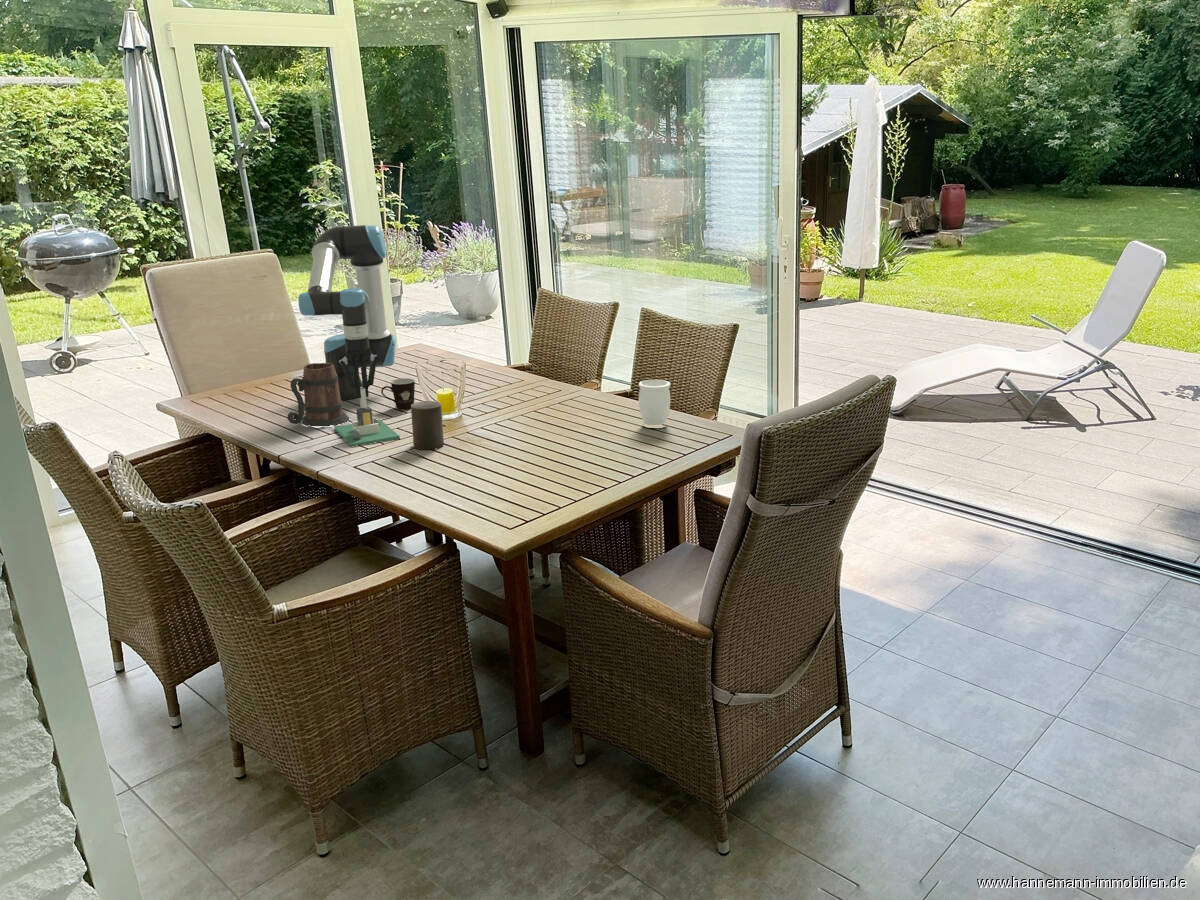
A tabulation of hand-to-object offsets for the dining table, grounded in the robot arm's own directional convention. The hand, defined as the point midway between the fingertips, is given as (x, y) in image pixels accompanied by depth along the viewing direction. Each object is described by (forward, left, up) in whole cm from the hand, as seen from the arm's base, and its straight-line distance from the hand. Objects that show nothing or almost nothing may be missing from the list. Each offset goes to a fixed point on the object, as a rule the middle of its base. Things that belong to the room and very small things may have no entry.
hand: (363, 406), depth 322 cm
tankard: (-22, -11, -10) cm, 26 cm away
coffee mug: (-25, +20, -10) cm, 33 cm away
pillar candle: (+23, +14, -10) cm, 29 cm away
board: (0, 0, -10) cm, 10 cm away
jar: (+45, +86, -10) cm, 97 cm away
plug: (0, 0, -9) cm, 9 cm away
